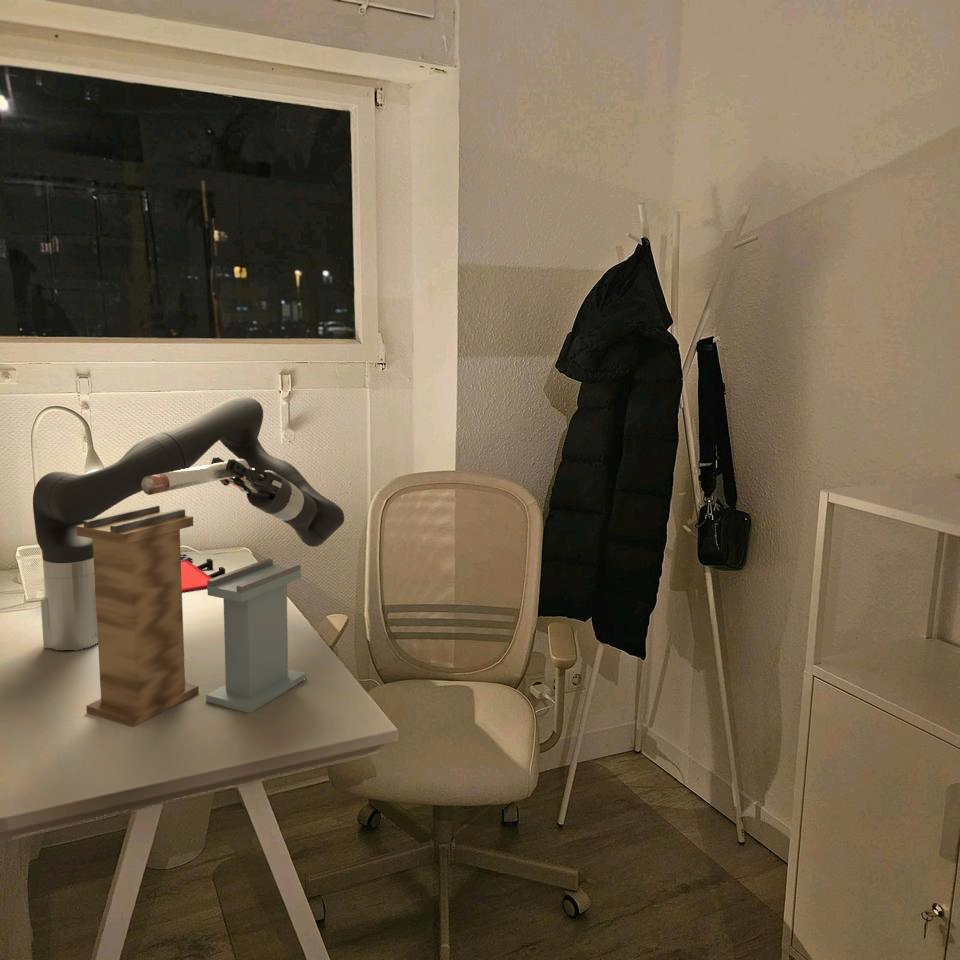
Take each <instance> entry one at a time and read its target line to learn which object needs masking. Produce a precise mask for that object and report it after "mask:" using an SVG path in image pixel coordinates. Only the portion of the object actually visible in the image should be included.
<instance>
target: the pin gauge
mask: <svg viewBox="0 0 960 960" xmlns="http://www.w3.org/2000/svg"><path fill="white" fill-rule="evenodd" d="M235 460H236V461H238V462H239V463H241V464H242V465H244V466H248V463H247V461H246V460H244V459H239V458H238V459H235ZM227 463H228V460H227V461H225V462H221V463H216V464H211V463H210V464H206V465H205V464H204V465H199V466H195V467H190V468H188V469H183V470H178V471H173V472H167V473H162V474H157V475H151V476H146V477H144V478H143V479H142V483H141V485H142V489H143V493H144V494H146V495H147V496H153V495H156V494H161V493H165V492H171V491H174V490H179V489H184V488H189V487H193V486H199V485H202V484H203V485H204V484H208V483H213V482H218V481H219V480H222V479H227V478H232V477H236V476H235V475H234V474H232V473H231V472H229V471H227V470H226V465H227Z"/></svg>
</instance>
